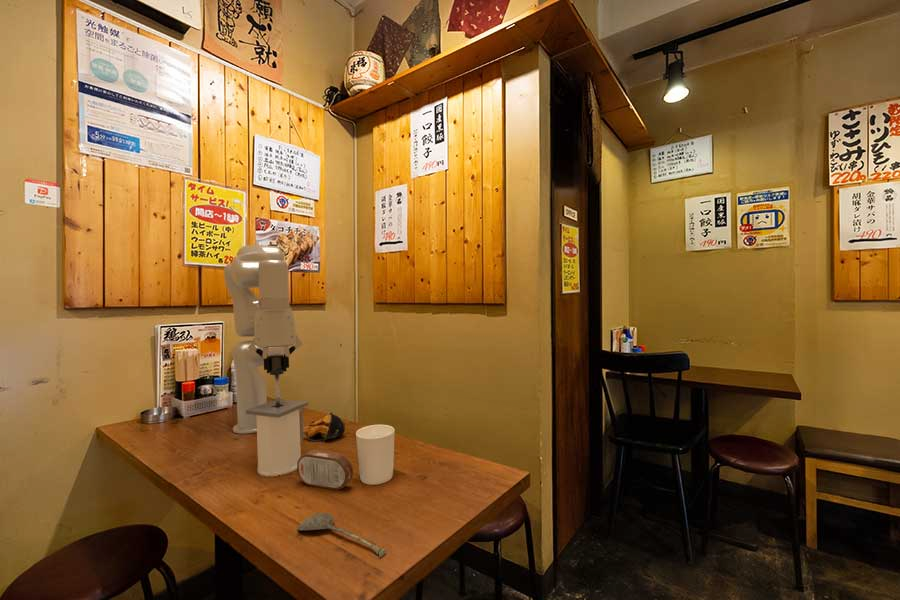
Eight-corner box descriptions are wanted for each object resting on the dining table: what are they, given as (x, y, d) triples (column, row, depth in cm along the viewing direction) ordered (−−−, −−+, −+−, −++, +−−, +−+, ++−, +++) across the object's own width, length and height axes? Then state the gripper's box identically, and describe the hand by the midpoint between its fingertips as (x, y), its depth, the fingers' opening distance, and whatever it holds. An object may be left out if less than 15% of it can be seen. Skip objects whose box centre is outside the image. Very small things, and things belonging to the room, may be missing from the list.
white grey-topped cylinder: (286, 452, 117) (284, 396, 116) (316, 457, 113) (314, 399, 112) (247, 473, 104) (245, 410, 103) (280, 479, 100) (278, 413, 100)
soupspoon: (317, 518, 84) (291, 535, 78) (316, 503, 84) (289, 519, 78) (395, 547, 72) (370, 571, 67) (393, 530, 72) (368, 552, 67)
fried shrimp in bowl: (348, 427, 124) (290, 417, 117) (337, 454, 127) (280, 445, 120) (348, 409, 132) (294, 399, 126) (338, 434, 135) (284, 425, 129)
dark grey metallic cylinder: (278, 410, 112) (276, 352, 111) (299, 413, 109) (297, 353, 109) (256, 419, 105) (254, 357, 104) (278, 421, 102) (276, 358, 102)
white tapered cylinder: (362, 490, 93) (361, 441, 93) (353, 473, 102) (351, 428, 102) (401, 480, 98) (400, 433, 97) (388, 465, 106) (387, 422, 106)
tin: (354, 487, 95) (353, 453, 95) (346, 493, 92) (345, 458, 92) (304, 479, 100) (303, 446, 99) (295, 485, 97) (294, 451, 97)
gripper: (239, 306, 99) (241, 377, 100) (307, 304, 106) (309, 370, 107) (241, 306, 106) (243, 372, 107) (305, 303, 113) (307, 366, 113)
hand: (276, 370), depth 107 cm, fingers closed on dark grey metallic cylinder, 3 cm apart
